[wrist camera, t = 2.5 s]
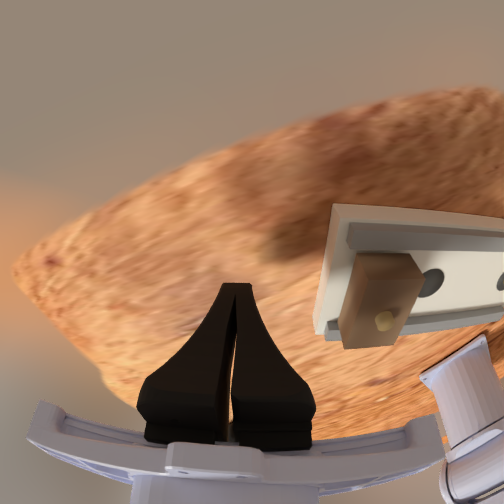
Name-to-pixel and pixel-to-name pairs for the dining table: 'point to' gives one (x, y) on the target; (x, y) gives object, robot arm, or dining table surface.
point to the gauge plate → (418, 264)
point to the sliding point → (378, 299)
